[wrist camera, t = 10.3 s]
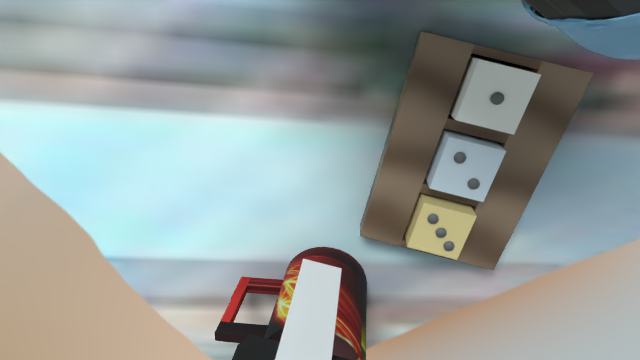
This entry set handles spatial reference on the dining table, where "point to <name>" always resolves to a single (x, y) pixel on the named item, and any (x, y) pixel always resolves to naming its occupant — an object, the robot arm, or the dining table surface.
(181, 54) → the dining table surface
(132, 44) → the dining table surface
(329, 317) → the robot arm
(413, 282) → the dining table surface
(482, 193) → the two-dot tile
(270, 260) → the dining table surface
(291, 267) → the mug
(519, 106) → the tile
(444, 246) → the tile
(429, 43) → the board
